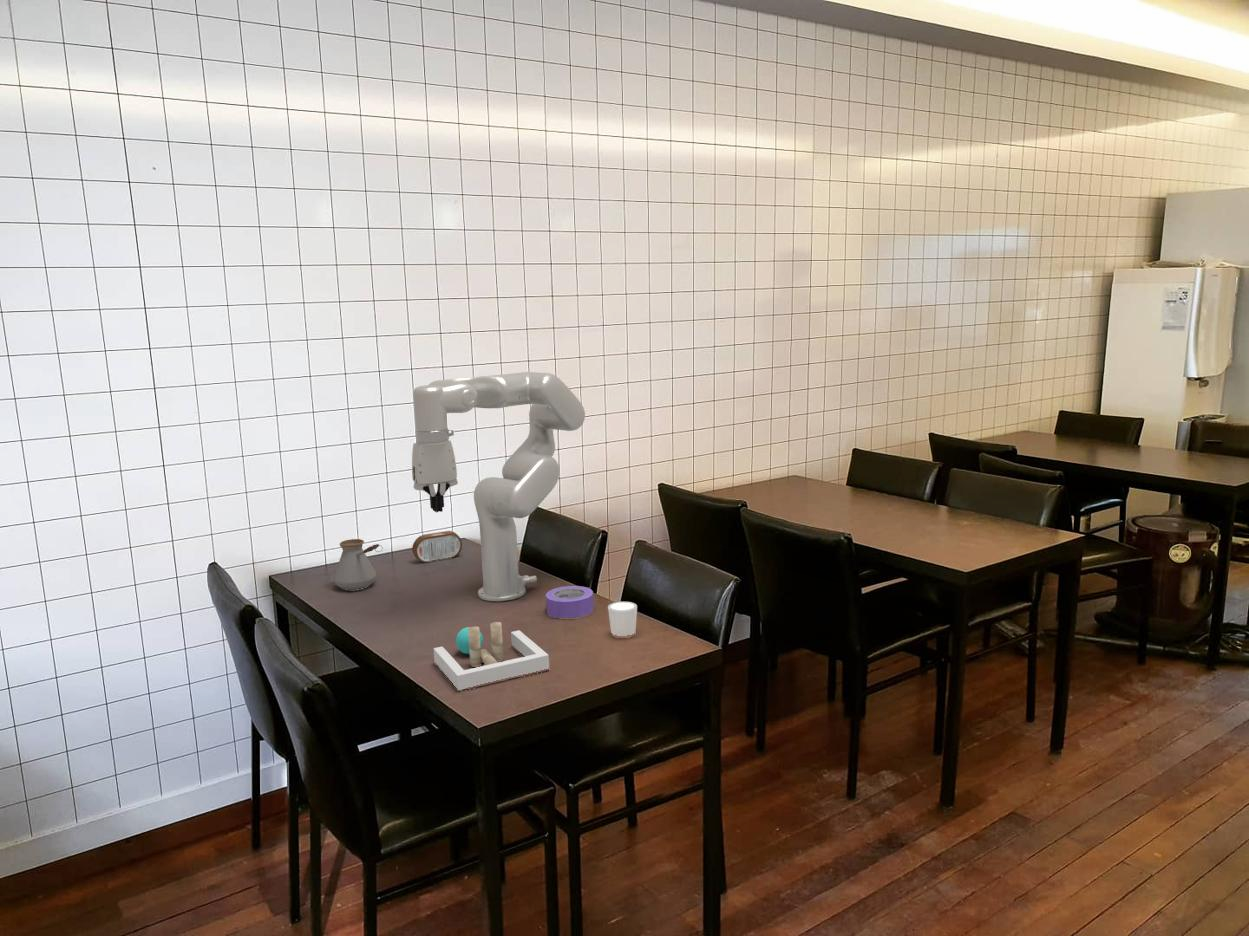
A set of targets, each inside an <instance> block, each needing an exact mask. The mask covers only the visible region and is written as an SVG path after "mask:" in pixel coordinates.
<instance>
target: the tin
mask: <svg viewBox="0 0 1249 936" xmlns="http://www.w3.org/2000/svg"><path fill="white" fill-rule="evenodd" d="M462 548H463V540H462V539H461V537H460V536H459V535H458V534H457V532H454V531H452V530H446V531H440V532H439V531H438V532H433V533H426V534H425V533H424V534H422V535H419V536H418V537H417V538H416V539H415V540H414V541H413V544H412V554H413V556H414V557H415V558H416V559H417V560H418V561H420V562H421V563H425V562H428V561H434V560H440V559H445V558H450V557H454V558H456V557H457V556H458V555H459V554H460V553H461V551H462ZM455 556H456V557H455ZM440 561H441V560H440ZM434 562H435V561H434ZM428 563H429V562H428Z"/></svg>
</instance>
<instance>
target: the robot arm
mask: <svg viewBox="0 0 1249 936" xmlns="http://www.w3.org/2000/svg"><path fill="white" fill-rule="evenodd" d="M412 394H413V395H412V396H413V399H412V400H413V410H414V423H415V424H414V425H415V436H416V442H415V443H414V442H413V445H412V450H411V451H412V454H411V477H412V481H413V489H414V490H416V491H423V492H425V493H427V494H428V495H429V505H430V509H432V511H433V512H435V513H439V512H443V508H445V497H444V496H445V495H446V492H447V491H448V490H449V488H452V487H454V486H457V485H458V479H457V478H458V470H457V462H456V456H455V452H454V448H453V443H452V441H451V440H450V437H452V436H454V435H455V434H454V433H455V432H454V430H451V429H449V428H448V417H447V416H448V414H463V413H468V412H469V411H471V410H473V409H474V408H477V409H480V408H481V409H502V408H508V407H515V406H523V405H531V406H530V408H529V411H528V412H529V415H528V419H529V433H528V436H527V438H526V439H525V440H524V441H523V442H522V444H521V445H519V447H518V448H517V449H516V450H515V451H514V452H513V453H512V454H510V456H509V458H508V459H507V460H506V461H505V462H504V464H503V467H502V469H501V473H502V474H501V475H502V477H497V476H495V477H494V476H492V477H490V476H489V477H486V478H484V479H482V480H480V481H479V482H478V483H477V484H476V486H475V488H474V492H473V503H474V506H475V509H476V514H477V518H478V525H479V535H480V551H481V552H480V553H481V565H482V566H481V567H482V571H481V572H482V584H483V585H482V587H480V588H479V589H478V590H477V596H478V597H479V598H480V599H481V600H484V601H487V602H505V601H506V602H507V601H513V600H515V599H516V600H517V599H519V598H521V597H523V596H524V595H525V594H526V587H525V586H526V585H529V584H535V583H537V582H538V581H537V579H538V578H537V575H531V576H529V575H528V574H525V575H520V572H519V556H518V537H517V536H518V535H517V533H518V532H517V526H516V522H515V519H524V518H526V517H528V516H530V515H531V514H532V513H533V512H535V511H536V509H537V508H538V507H539V506H540V504H542V503H543V501H544V500H545V499H546V498H547V497H548V495H550V493H551V492H552V491H553V489H554V488H555V486H556V485H557V483H558V481H559V477H560V466H559V464H558V461H557V459H555V458H554V457H553V456H554V454H555V450H556V443H555V437H554V430H555V431H557V430H558V431H566V432H570V431H571V432H572V431H576V430H579V429H580V428H581V427H582V426H583V424H584V422H585V420H586V419H585V418H586V412H585V408H584V406H583V404H582V403H581V401H580V399H579V398H578V397H577V396H576V395H575V394H574V393H573V391H572V390H571V389H570V388H569V387H568V385H566V384H565V382H564V381H562V379H560V378H559V377H558V376H557V375H555V374H553V373H550V372H535V371H533V372H532V371H531V372H530V371H524V372H513V373H504V374H494V375H493V374H492V375H482V376H473V377H460V378H449V379H439V380H434V381H432V382H430V383H429V384H427V385H419V386H416V387H415V388H414V389H413V392H412ZM435 485H437V487H436V488H437V489H436V490H437V491H436V490H435Z"/></svg>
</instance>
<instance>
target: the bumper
mask: <svg viewBox="0 0 1249 936" xmlns="http://www.w3.org/2000/svg"><path fill="white" fill-rule="evenodd" d="M510 638H511V647H512V646H514V647H515V648H516V649H517V650H518V651H519V652H520V653H522V654H523V655H524V656H525V657H523V656H520V657H516V658H512V659H508V660H504V661H503V662H498V663H494V664H489V665H482V666H480V667H476V668H472V667H471V668H469V669H464V668H463V667H462V666H461V665H460V664H459V662H457V661H456V660H455V658H454V657H452V655H451V654H450V653H449V652H448V651H447V649H445V648H444V647H443V646H438V647H433V658H434V659H433V660H434V664H435V663H436V664H437V665H438V666H439V668H440V669H441V670H442V671H443V672H444V674H445V675H446V676H447V677H448V678H449V680H450V681H451V682H452V683H453V685H454V686H455V687H456V688H457V689H458V690H462V689H465V688H468V687H473V686H476V685H480V684H484V683H488V682H493V681H496V680H501V679H505V678H509V677H514V676H518V675H523V674H528V673H532V672H536V671H540V670H544V669H548V668H549V669H550V657H549V656H550V654H548V653H547V652H546V651H544V650H543V649H542V648H541V647H540V646H539V645H537V644H536V642H534V641H533V640H532V639H530V638H529V637H528V636H527V635H526V634H524V633H523V632H522V631H521V630H519V629H518V630H514V631H511V632H510ZM520 653H519V654H520ZM436 664H435V665H436ZM439 668H438V669H439ZM440 669H439V670H440ZM441 670H440V671H441ZM444 674H443V675H444ZM445 675H444V676H445ZM446 676H445V677H446ZM447 677H446V678H447ZM449 680H448V681H449ZM450 681H449V682H450ZM451 682H450V683H451ZM452 683H451V684H452ZM453 685H452V686H453ZM454 686H453V687H454ZM455 687H454V688H455ZM456 688H455V689H456ZM457 689H456V690H457ZM458 690H457V691H458Z"/></svg>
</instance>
